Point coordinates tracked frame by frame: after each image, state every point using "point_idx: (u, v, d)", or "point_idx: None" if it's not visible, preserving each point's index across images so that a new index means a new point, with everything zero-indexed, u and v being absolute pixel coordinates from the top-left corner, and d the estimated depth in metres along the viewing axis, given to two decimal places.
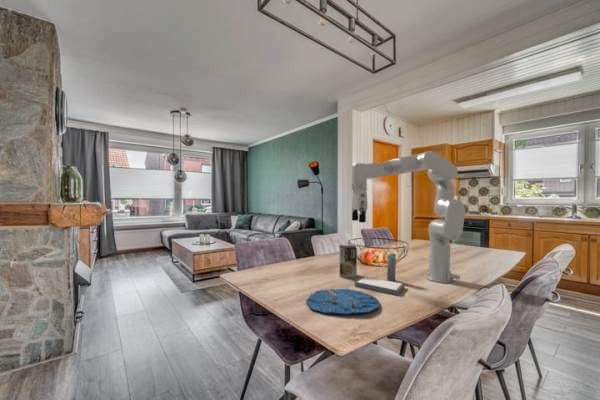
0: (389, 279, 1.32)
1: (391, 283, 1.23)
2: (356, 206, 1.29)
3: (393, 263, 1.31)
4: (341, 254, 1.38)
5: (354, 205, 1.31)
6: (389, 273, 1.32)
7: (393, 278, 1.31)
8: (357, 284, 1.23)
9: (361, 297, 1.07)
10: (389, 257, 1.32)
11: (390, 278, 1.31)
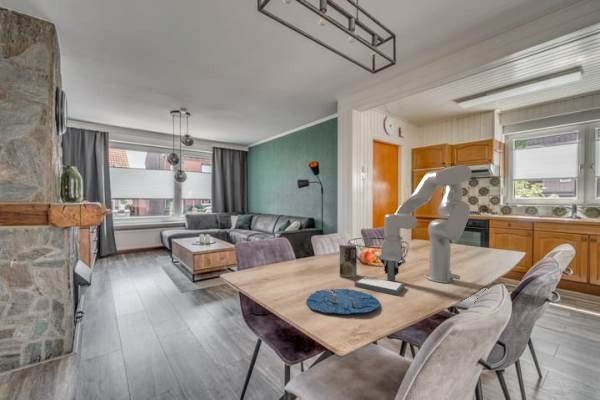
0: (389, 279, 1.32)
1: (391, 283, 1.23)
2: (395, 258, 1.30)
3: (393, 263, 1.31)
4: (341, 254, 1.38)
5: (390, 256, 1.31)
6: (389, 273, 1.32)
7: (393, 278, 1.31)
8: (357, 284, 1.23)
9: (361, 297, 1.07)
10: None
11: (390, 278, 1.31)
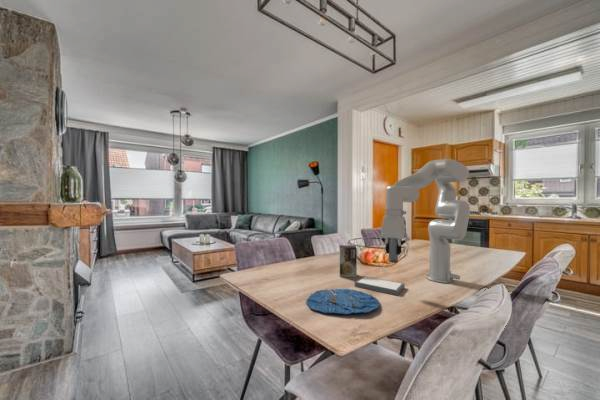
0: (391, 259, 1.16)
1: (391, 283, 1.23)
2: (398, 235, 1.14)
3: (395, 241, 1.15)
4: (341, 254, 1.38)
5: (392, 233, 1.15)
6: (390, 253, 1.16)
7: (395, 259, 1.15)
8: (357, 284, 1.23)
9: (361, 297, 1.07)
10: None
11: (392, 258, 1.15)
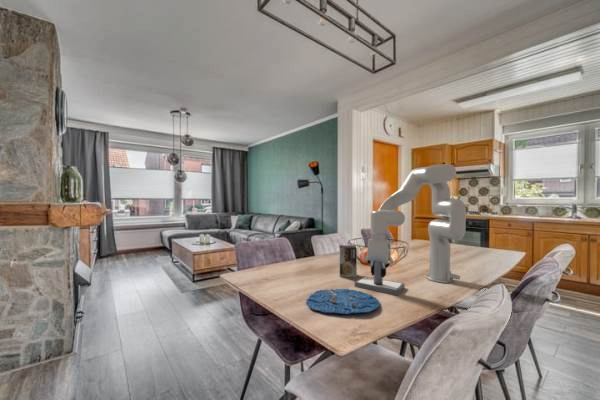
0: (376, 282, 1.20)
1: (391, 283, 1.23)
2: (382, 259, 1.18)
3: (380, 264, 1.19)
4: (341, 254, 1.38)
5: (377, 256, 1.19)
6: (375, 275, 1.20)
7: (380, 281, 1.19)
8: (357, 284, 1.23)
9: (361, 297, 1.07)
10: None
11: (377, 280, 1.19)
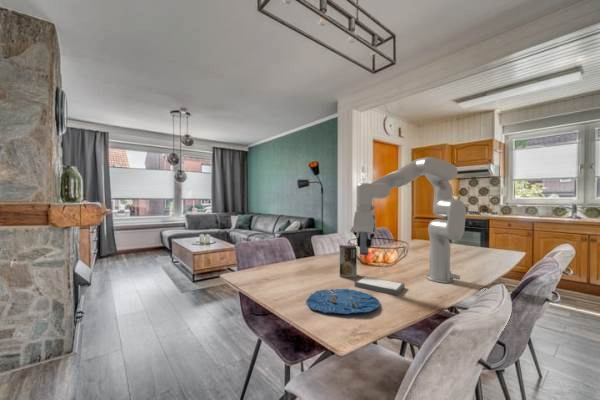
0: (361, 252, 1.24)
1: (391, 283, 1.23)
2: (367, 229, 1.22)
3: (365, 235, 1.23)
4: (341, 254, 1.38)
5: (362, 227, 1.23)
6: (361, 245, 1.24)
7: (365, 251, 1.23)
8: (357, 284, 1.23)
9: (361, 297, 1.07)
10: None
11: (362, 251, 1.23)
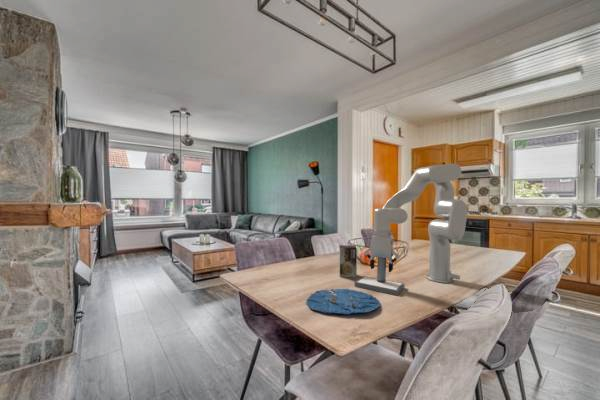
0: (379, 279, 1.24)
1: (391, 283, 1.23)
2: (385, 255, 1.22)
3: (383, 262, 1.23)
4: (341, 254, 1.38)
5: (380, 252, 1.23)
6: (379, 273, 1.24)
7: (383, 279, 1.23)
8: (357, 284, 1.23)
9: (361, 297, 1.07)
10: None
11: (380, 278, 1.24)
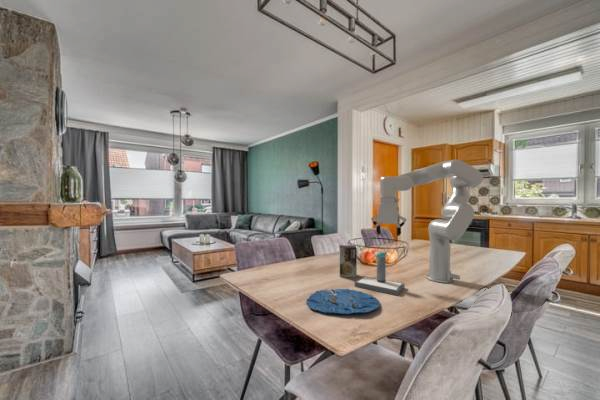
0: (379, 279, 1.24)
1: (391, 283, 1.23)
2: (392, 220, 1.28)
3: (383, 262, 1.23)
4: (341, 254, 1.38)
5: (387, 218, 1.29)
6: (378, 273, 1.24)
7: (383, 279, 1.23)
8: (357, 284, 1.23)
9: (361, 297, 1.07)
10: (379, 256, 1.24)
11: (380, 278, 1.24)
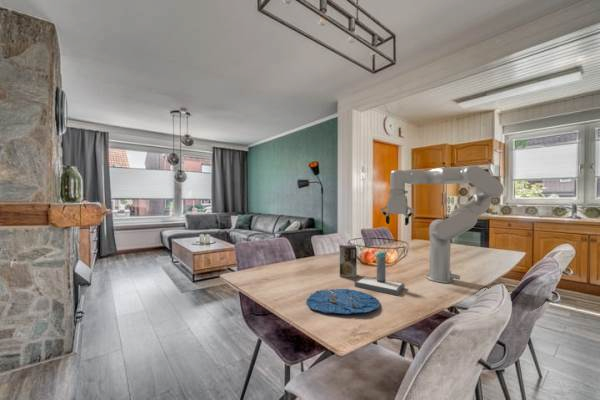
0: (379, 279, 1.24)
1: (391, 283, 1.23)
2: (401, 211, 1.38)
3: (383, 262, 1.23)
4: (341, 254, 1.38)
5: (396, 209, 1.39)
6: (378, 273, 1.24)
7: (383, 279, 1.23)
8: (357, 284, 1.23)
9: (361, 297, 1.07)
10: (378, 256, 1.24)
11: (380, 278, 1.24)
